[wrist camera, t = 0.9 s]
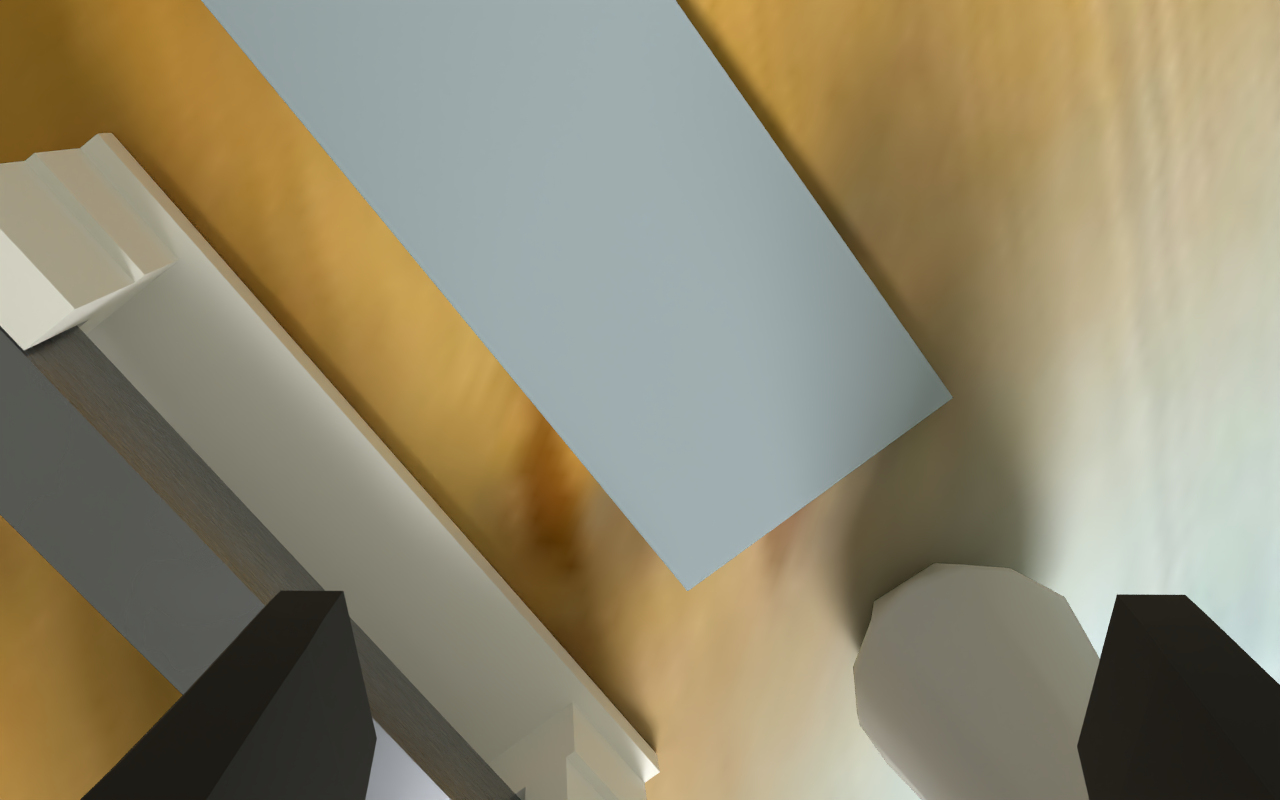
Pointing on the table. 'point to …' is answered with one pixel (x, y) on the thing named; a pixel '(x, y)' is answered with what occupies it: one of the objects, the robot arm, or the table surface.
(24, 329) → the hook stands
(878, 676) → the salt shaker
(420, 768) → the rail
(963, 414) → the table surface
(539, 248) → the mat
